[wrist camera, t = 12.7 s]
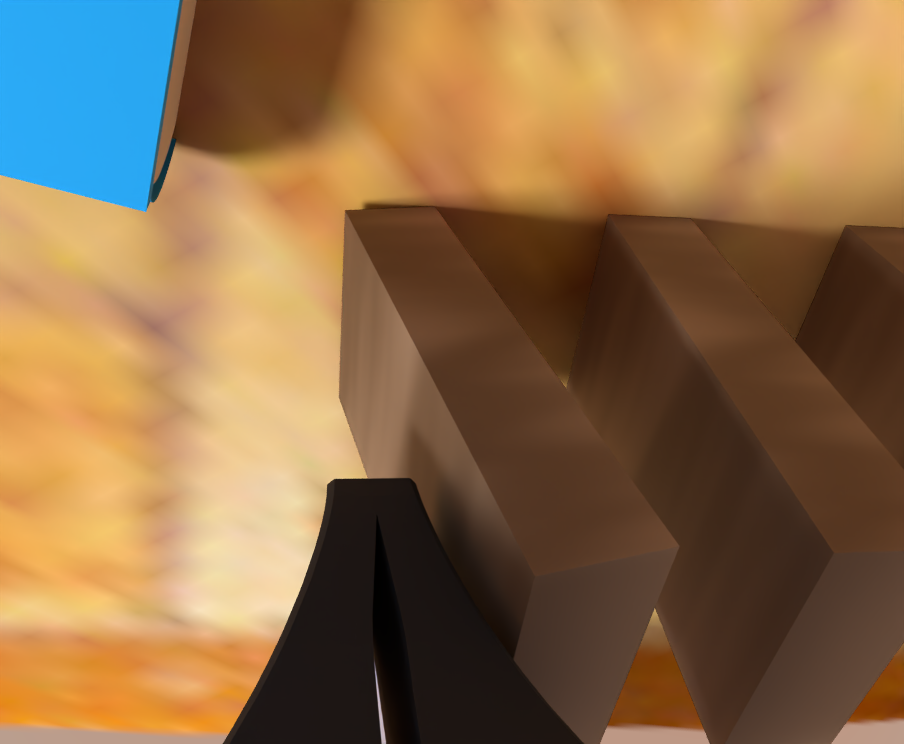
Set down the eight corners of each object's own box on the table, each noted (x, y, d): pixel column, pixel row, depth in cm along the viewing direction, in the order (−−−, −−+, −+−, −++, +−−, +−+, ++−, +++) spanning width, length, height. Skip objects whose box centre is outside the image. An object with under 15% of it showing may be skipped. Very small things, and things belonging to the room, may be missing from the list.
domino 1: (434, 206, 17) (679, 546, 10) (416, 388, 20) (594, 756, 13) (344, 209, 17) (534, 576, 9) (338, 397, 20) (479, 790, 12)
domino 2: (690, 218, 18) (970, 549, 10) (638, 389, 21) (826, 750, 13) (608, 214, 18) (834, 553, 10) (566, 388, 21) (715, 758, 13)
